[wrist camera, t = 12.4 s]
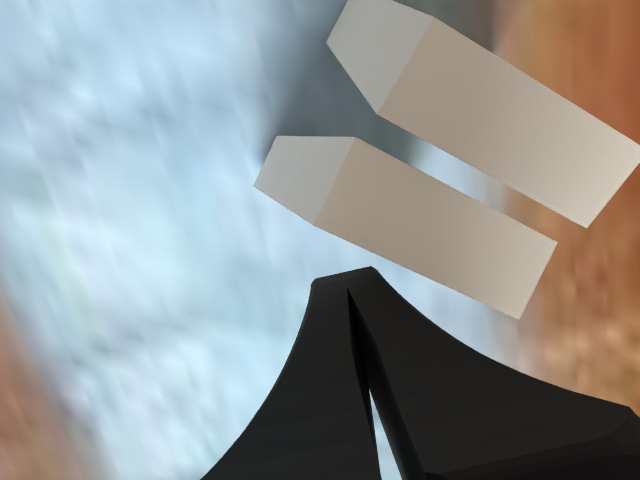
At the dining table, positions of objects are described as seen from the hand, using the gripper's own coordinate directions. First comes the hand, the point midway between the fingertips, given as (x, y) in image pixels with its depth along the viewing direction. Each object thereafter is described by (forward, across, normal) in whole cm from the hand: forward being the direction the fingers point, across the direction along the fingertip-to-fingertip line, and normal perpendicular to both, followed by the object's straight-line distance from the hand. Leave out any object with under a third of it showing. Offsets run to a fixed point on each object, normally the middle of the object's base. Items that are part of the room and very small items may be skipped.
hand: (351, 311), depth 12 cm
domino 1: (+6, -3, -4) cm, 8 cm away
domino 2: (+6, 0, 0) cm, 6 cm away
